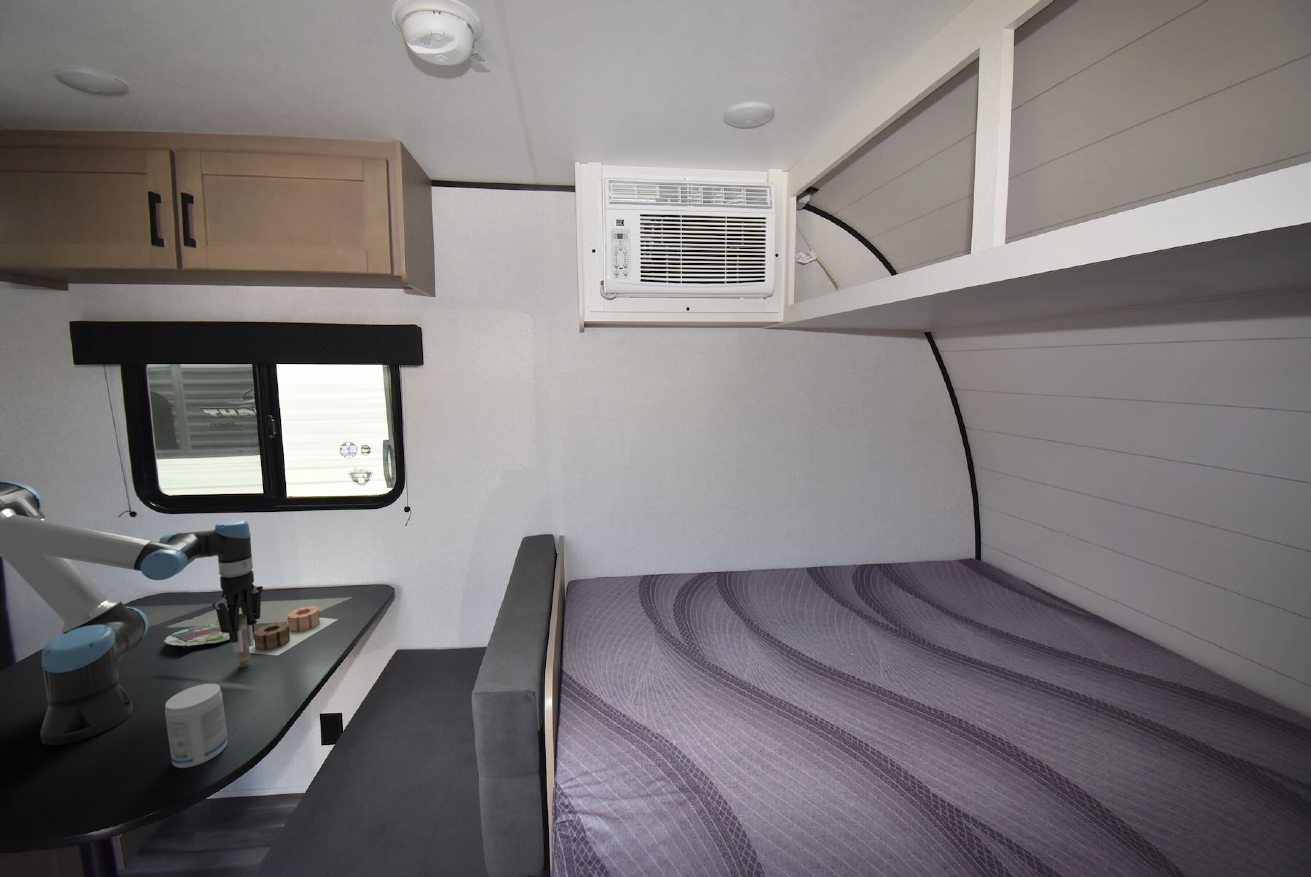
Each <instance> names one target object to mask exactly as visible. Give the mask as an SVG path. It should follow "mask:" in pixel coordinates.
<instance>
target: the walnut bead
mask: <svg viewBox="0 0 1311 877" xmlns="http://www.w3.org/2000/svg"><path fill="white" fill-rule="evenodd" d="M253 640H255V649H256V650H260V651H265V650H266V649H267V650H271V649H275V648H278V646H280V647H281V646H283V645H285V644H286V643H288V641H290V634H289V623H287V621H286V622H284V621H280V622H278V621H277V622H273V623H268V624H266V625H262V626H260V627H259V628H255V630H254V633H253Z"/></svg>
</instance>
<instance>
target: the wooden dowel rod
mask: <svg viewBox="0 0 1311 877" xmlns="http://www.w3.org/2000/svg"><path fill="white" fill-rule="evenodd" d="M238 630H242V642H243V651H242V652H237V655H238V657H237V659H238V667H239V668H246V667H249V666H251V655H250V654H251V653H250V651H249V640H248V629H247V617H246V615H245V614H242V613H239V629H238Z"/></svg>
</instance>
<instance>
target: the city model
mask: <svg viewBox="0 0 1311 877" xmlns="http://www.w3.org/2000/svg"><path fill="white" fill-rule="evenodd" d="M228 640H229V641H230V637H229V633H222V632H221V629H220V625H219V621H218V620H216V623H208V624H206V625H205V624H204V625H199V626H195V627H190V628H186V629H180V630H179V631H175V632H174V633H172V634H170V635H168V636H167V637H165V639H164V640H163V642H164V643H166V644H168V645H172V646H180V650H183V649H185V650H184V651H188V650H190V649H193V648H194V646H197V645H204V644H217V643H220V642H221V643H222V642H225V641H228Z"/></svg>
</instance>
